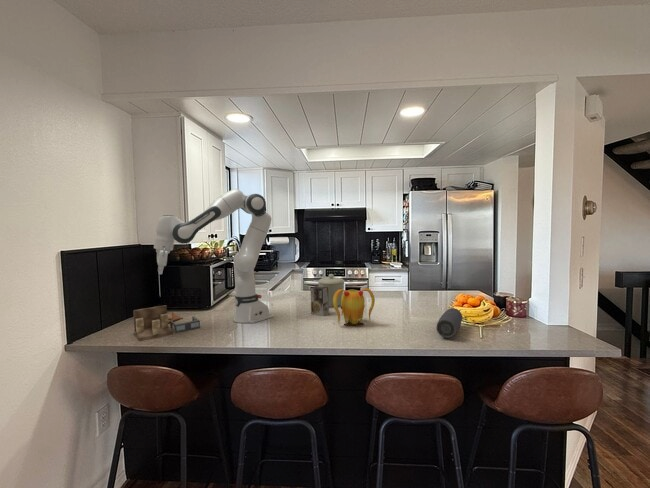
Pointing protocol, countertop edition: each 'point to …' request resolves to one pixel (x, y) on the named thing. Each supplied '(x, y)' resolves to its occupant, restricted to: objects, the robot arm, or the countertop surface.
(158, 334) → the display stand
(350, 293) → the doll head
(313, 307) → the coffee box
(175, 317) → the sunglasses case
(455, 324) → the bluetooth speaker
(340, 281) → the canister
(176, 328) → the glasses
